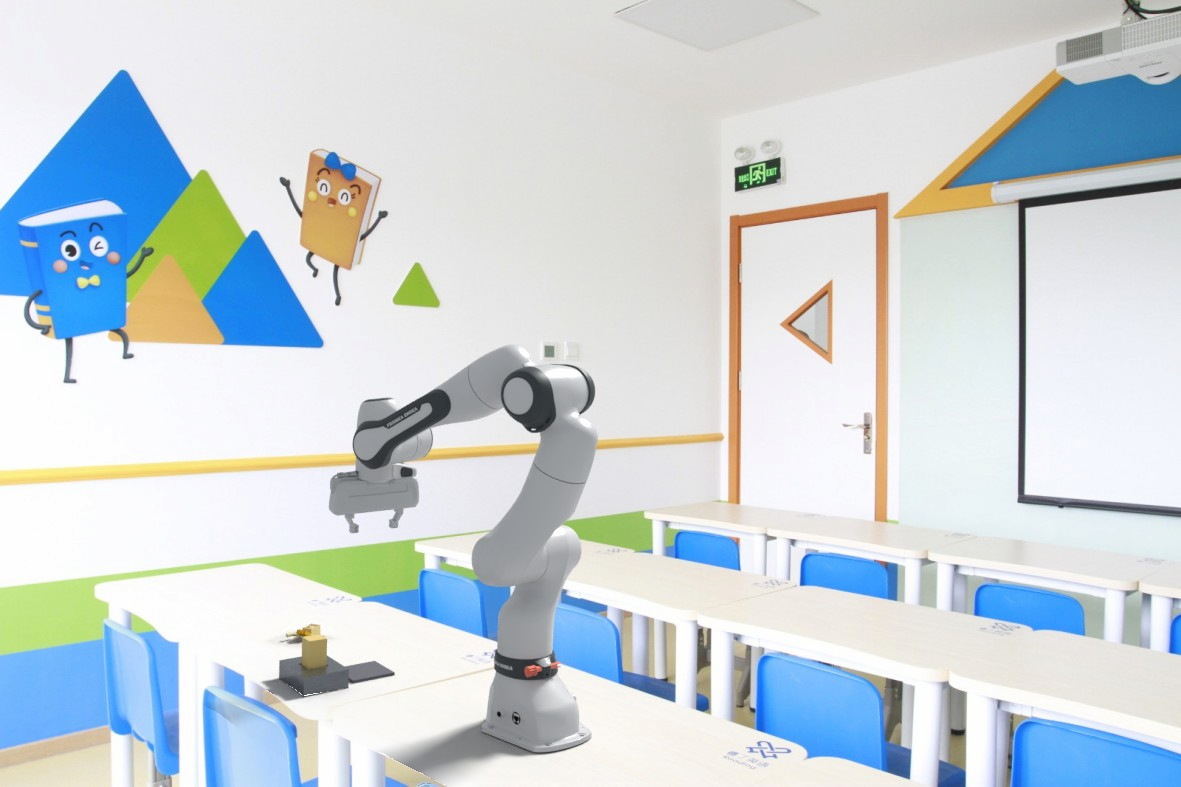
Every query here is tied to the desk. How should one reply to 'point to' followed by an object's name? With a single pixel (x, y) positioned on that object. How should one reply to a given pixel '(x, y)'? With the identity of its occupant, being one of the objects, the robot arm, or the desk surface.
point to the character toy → (306, 631)
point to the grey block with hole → (313, 676)
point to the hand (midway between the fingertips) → (373, 530)
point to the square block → (314, 651)
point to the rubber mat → (367, 671)
